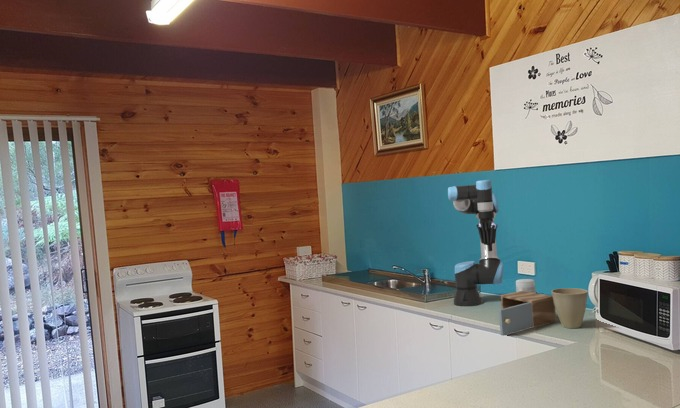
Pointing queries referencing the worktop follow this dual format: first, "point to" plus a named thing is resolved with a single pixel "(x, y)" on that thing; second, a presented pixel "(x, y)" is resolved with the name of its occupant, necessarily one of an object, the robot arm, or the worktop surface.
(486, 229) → the robot arm
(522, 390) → the worktop surface
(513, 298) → the cabinet
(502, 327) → the cabinet door
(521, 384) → the worktop surface
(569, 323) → the plant pot
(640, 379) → the worktop surface
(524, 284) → the supplement tub
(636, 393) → the worktop surface
